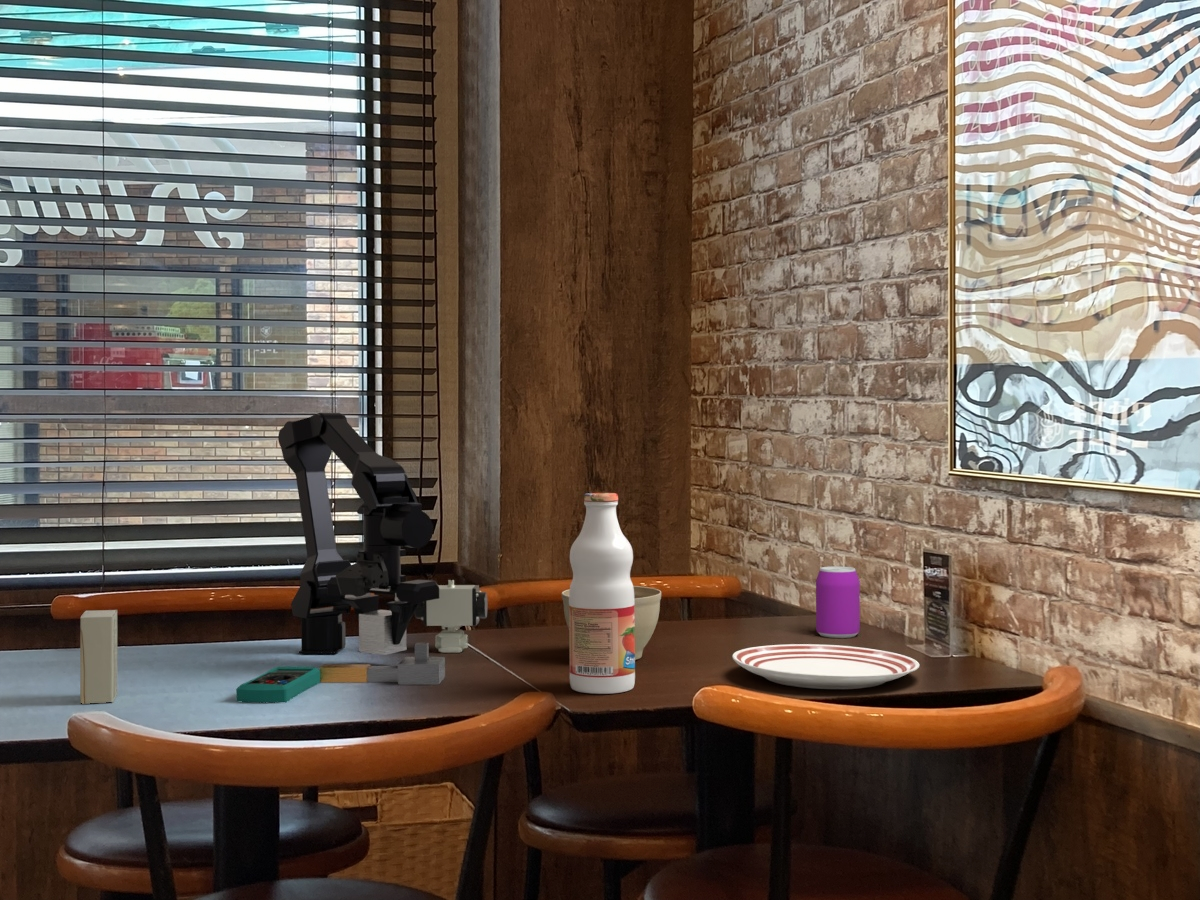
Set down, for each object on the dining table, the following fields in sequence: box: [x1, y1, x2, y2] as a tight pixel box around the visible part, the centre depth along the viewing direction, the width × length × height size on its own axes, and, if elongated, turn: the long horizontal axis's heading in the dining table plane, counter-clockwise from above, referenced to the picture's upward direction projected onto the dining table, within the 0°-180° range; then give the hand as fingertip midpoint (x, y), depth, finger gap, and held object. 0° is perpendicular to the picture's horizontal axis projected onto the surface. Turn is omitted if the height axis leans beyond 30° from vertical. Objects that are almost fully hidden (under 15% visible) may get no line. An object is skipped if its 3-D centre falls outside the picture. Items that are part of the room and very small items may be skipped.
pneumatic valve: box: [414, 579, 489, 654], centre depth 217 cm, size 6×12×12 cm, turn 89°
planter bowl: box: [561, 585, 662, 661], centre depth 209 cm, size 16×16×11 cm
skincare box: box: [79, 609, 118, 705], centre depth 180 cm, size 6×4×12 cm
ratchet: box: [319, 642, 446, 686], centre depth 192 cm, size 18×6×6 cm, turn 89°
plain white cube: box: [358, 609, 407, 656], centre depth 203 cm, size 5×5×6 cm
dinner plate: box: [731, 643, 920, 690], centre depth 192 cm, size 28×27×3 cm
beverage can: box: [815, 565, 861, 639], centre depth 230 cm, size 8×8×12 cm
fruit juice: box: [568, 492, 636, 695], centre depth 185 cm, size 9×9×28 cm
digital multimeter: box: [235, 666, 321, 704], centre depth 184 cm, size 7×15×3 cm, turn 173°
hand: (382, 643), depth 203 cm, fingers closed on plain white cube, 5 cm apart
